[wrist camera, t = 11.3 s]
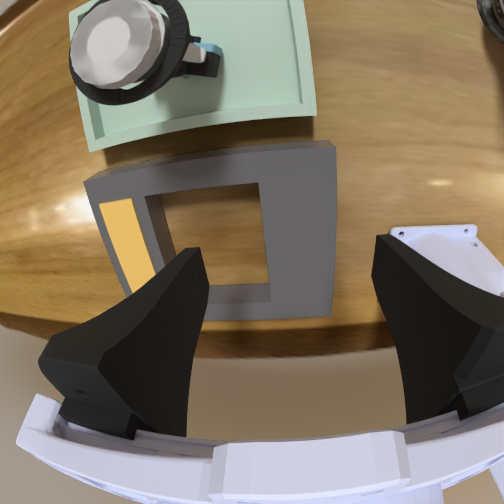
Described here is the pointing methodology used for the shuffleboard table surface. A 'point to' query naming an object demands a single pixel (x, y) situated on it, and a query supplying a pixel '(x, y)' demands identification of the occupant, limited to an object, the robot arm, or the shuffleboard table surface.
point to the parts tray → (218, 74)
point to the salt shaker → (493, 16)
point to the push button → (136, 50)
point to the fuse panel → (273, 214)
